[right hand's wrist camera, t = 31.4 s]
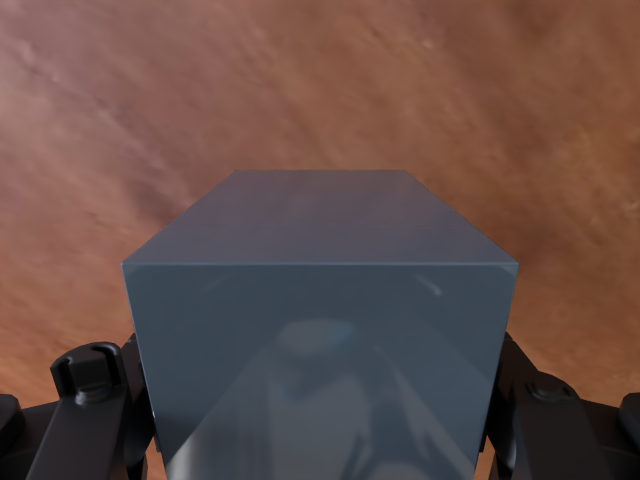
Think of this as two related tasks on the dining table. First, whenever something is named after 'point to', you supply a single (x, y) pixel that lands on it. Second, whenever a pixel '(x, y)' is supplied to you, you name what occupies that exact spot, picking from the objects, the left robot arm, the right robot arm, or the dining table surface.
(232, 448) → the brick
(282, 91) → the dining table surface
